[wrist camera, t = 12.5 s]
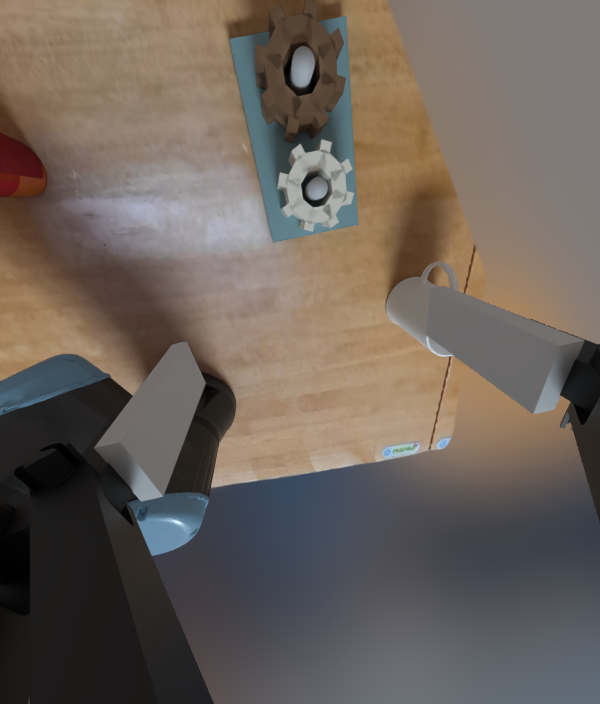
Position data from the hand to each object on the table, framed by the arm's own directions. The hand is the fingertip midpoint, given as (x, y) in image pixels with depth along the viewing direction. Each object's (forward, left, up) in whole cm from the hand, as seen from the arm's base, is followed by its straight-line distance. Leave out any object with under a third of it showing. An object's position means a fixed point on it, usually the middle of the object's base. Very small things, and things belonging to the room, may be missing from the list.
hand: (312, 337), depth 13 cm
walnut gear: (+5, +17, -25) cm, 31 cm away
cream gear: (+5, +8, -25) cm, 27 cm away
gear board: (+5, +13, -27) cm, 30 cm away
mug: (+20, -9, -27) cm, 35 cm away
